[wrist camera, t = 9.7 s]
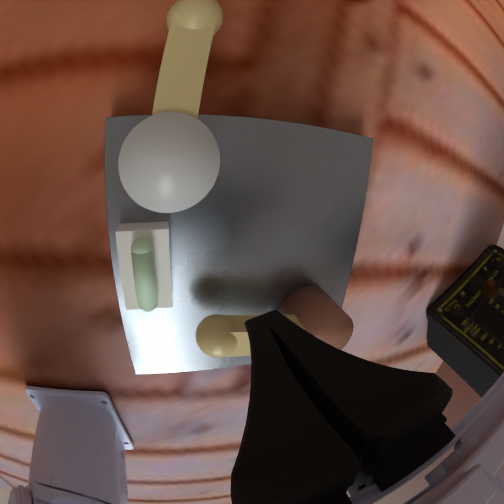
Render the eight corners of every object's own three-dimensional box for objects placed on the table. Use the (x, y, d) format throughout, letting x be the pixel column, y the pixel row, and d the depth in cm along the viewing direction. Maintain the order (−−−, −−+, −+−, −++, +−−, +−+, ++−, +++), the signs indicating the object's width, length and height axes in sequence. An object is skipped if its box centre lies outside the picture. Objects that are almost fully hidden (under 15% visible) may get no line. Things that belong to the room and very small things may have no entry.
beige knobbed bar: (335, 286, 17) (364, 314, 14) (318, 331, 18) (342, 362, 16) (193, 282, 14) (202, 319, 11) (188, 335, 16) (195, 376, 13)
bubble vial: (172, 294, 14) (174, 318, 12) (128, 296, 14) (124, 320, 12) (168, 221, 13) (169, 236, 11) (119, 223, 12) (111, 238, 10)
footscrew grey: (203, 198, 13) (214, 217, 10) (127, 194, 12) (114, 213, 9) (232, 23, 10) (252, -6, 7) (156, 14, 8) (155, -18, 6)
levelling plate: (322, 338, 21) (329, 348, 20) (136, 361, 17) (136, 374, 16) (360, 137, 15) (373, 138, 14) (111, 119, 11) (105, 117, 10)
